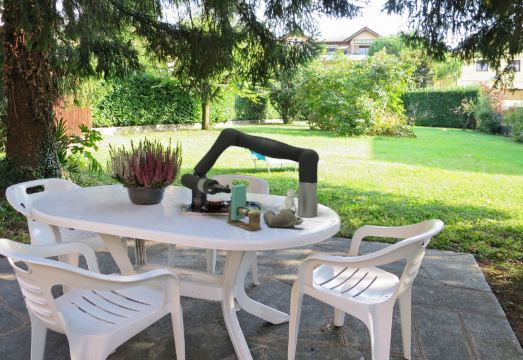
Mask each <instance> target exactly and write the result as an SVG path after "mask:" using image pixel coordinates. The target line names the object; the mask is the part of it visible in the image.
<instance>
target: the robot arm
mask: <svg viewBox="0 0 523 360" xmlns="http://www.w3.org/2000/svg"><path fill="white" fill-rule="evenodd" d="M229 147H238V148H242V149H247V150H250V151H251V152H253V153H256V154H258V155H261V156H263V157H267V158H270V159H276V160H285V161H292V162H295V163H298V191H297V194H298V195H297V209H296V210H297V214H296V215H297V217H301V218H314V217H318V208H319V207H318V206H319V205H318V204H319V197H318V196H317V195H318V168H319V167H318V166H319V165H318V164H319V161H320V155H319V154H318V152H317V151H316V150H314V149H311V148H305V147H300V146H295V145H290V144H288V143H285V142H282V141H279V140H277V139H274V138H270V137H264V136H260V135H253V134H248V133H245V132H243V131H240V130H238V129H235V128H233V127H227V128H226V127H225V128H224V129H222V130H221V131H220V133H219V134H218V136H217V138H216V140H215V141H214V143H213V144H212V145H211V147H210V148H209V149H208V151H207V152H206V153H205V154H204V156H203V157H201V159H200V160H199V161H198V162H197V163H196V165H195V166H194V167H193V171H194V173H195V174H196V175H194V174H192V173H189V172H188V173H187V172H186V173H184V174H182V175H181V177H180V184H181V185H182V186H184V188H187V189H189V190H191V191H198V192H201V193H204V194H207V195H211V196H215V195H217V194H221V193H222V194H224V193H225V194H232V188H230V185H229V184H226V185H223V184H222V183H220V182H219V181H218V180H216V179H212V178H210V177H209V178H207V177H206V175H207V174H208V173H209V172H210V171H211V169H213V167H214V165H215V164H216V163H217V161H218V159H219V158H220V157H221V155H222V154H223V153H224V152H225V151H226V150H227V149H228V148H229ZM197 175H198V176H199V177H197ZM193 189H195V190H193Z"/></svg>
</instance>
